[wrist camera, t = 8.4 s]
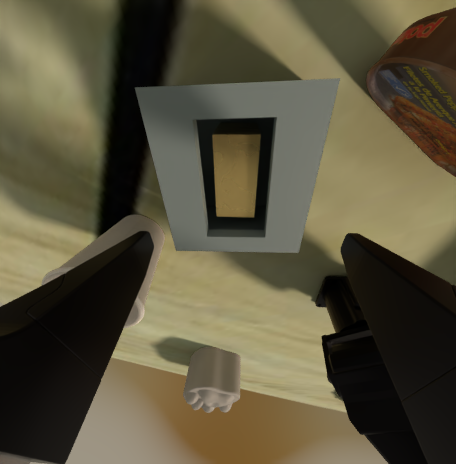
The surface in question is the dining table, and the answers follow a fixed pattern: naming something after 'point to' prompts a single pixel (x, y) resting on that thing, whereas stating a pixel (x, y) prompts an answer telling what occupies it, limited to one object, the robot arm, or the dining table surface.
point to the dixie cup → (110, 239)
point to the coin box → (269, 167)
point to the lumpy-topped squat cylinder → (213, 379)
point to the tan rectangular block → (236, 168)
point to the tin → (422, 85)
